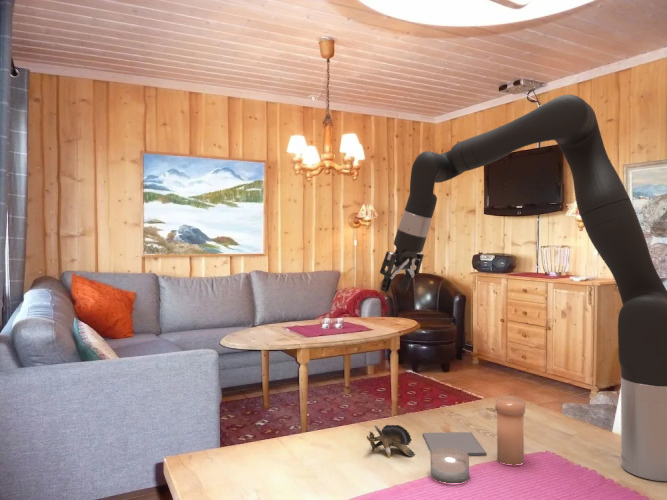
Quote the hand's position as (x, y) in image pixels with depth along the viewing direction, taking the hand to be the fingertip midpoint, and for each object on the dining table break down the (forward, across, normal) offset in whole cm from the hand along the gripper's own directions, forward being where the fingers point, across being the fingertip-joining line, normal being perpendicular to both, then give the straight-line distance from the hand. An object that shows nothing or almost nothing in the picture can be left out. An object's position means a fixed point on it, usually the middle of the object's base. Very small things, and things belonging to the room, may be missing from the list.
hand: (394, 290), depth 129 cm
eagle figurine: (+25, -22, -25) cm, 42 cm away
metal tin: (+20, -23, -38) cm, 49 cm away
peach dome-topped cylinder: (+18, -10, -43) cm, 48 cm away
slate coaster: (+22, -10, -32) cm, 40 cm away
